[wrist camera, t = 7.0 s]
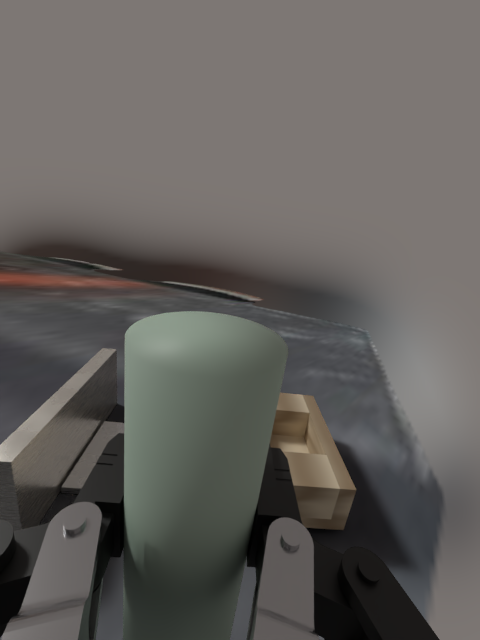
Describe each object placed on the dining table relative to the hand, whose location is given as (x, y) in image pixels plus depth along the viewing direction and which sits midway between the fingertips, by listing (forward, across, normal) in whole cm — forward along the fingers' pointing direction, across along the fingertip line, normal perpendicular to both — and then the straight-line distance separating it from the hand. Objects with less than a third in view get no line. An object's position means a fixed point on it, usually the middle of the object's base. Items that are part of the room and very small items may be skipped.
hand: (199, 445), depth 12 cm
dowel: (-3, 0, +8) cm, 8 cm away
